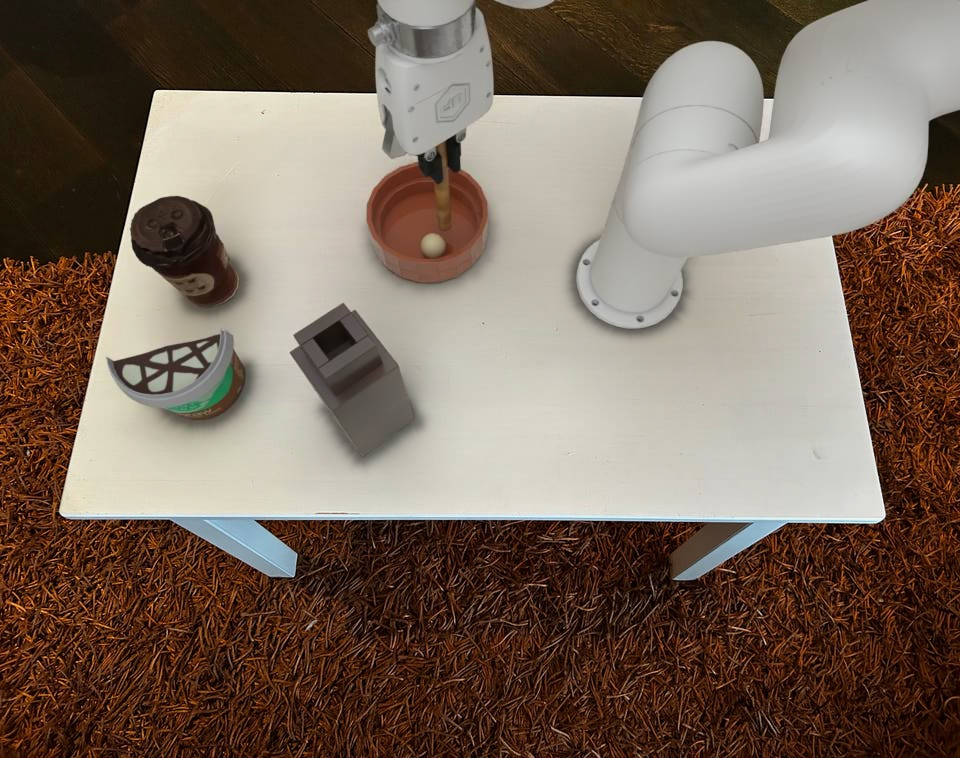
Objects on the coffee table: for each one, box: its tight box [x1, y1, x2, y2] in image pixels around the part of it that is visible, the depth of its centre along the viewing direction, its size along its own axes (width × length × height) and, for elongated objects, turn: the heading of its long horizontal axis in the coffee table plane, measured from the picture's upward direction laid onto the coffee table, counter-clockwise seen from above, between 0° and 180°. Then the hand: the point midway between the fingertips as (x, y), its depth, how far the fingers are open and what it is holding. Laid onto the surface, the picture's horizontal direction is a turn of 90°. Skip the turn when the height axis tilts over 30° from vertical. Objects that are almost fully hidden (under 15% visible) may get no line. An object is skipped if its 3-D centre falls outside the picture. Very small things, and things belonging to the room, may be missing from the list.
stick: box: [434, 140, 452, 232], centre depth 70 cm, size 2×2×16 cm
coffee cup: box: [129, 195, 240, 308], centre depth 72 cm, size 9×8×13 cm
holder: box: [289, 302, 415, 458], centre depth 63 cm, size 7×7×20 cm
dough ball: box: [421, 233, 446, 259], centre depth 78 cm, size 3×3×3 cm
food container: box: [105, 327, 246, 421], centre depth 68 cm, size 12×6×10 cm, turn 106°
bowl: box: [365, 161, 489, 283], centre depth 78 cm, size 14×14×5 cm
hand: (440, 168), depth 68 cm, fingers closed on stick, 1 cm apart
